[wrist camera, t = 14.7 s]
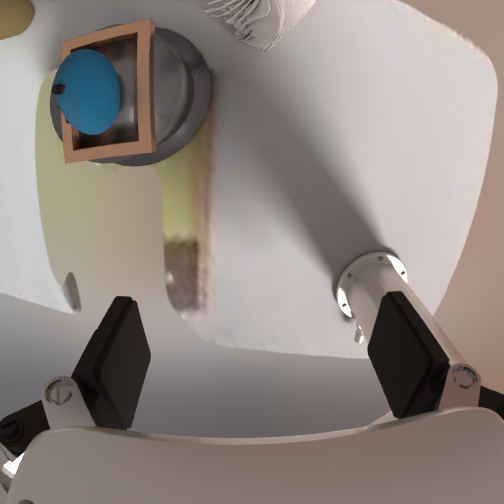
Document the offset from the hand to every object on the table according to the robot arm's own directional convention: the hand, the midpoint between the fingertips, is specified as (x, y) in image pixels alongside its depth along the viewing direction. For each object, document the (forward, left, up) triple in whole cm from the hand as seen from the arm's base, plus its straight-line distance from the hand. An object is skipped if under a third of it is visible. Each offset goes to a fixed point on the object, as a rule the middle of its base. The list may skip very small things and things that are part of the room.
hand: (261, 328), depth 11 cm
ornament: (+11, +14, -20) cm, 27 cm away
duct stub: (+11, +14, -30) cm, 35 cm away
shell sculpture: (+19, -1, -31) cm, 36 cm away
